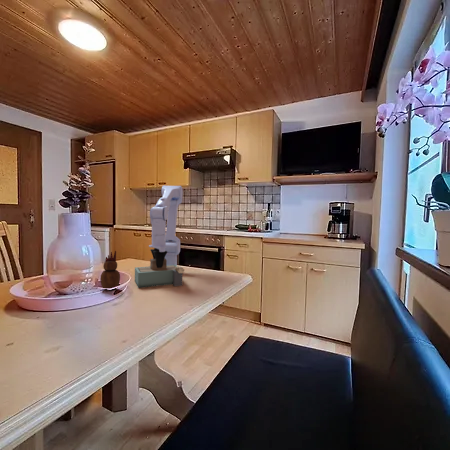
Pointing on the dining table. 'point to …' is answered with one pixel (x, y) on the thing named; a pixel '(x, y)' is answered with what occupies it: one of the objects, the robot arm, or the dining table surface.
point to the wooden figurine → (110, 273)
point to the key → (179, 269)
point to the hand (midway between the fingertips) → (158, 266)
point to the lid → (154, 267)
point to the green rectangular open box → (157, 278)
